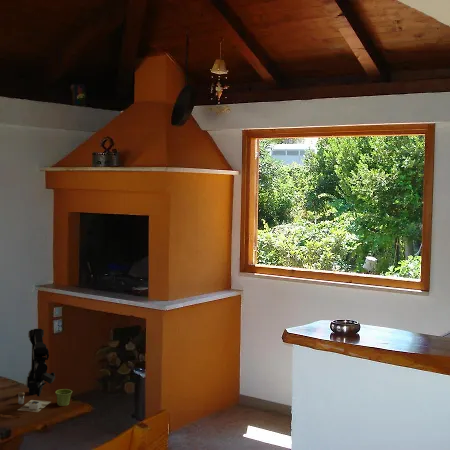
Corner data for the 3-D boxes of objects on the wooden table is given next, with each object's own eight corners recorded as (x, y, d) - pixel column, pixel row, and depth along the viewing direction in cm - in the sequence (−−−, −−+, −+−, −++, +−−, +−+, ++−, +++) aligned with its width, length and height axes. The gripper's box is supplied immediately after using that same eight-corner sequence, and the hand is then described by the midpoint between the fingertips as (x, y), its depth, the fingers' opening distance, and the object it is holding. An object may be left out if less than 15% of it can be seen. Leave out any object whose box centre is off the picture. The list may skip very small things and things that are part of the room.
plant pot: (75, 405, 354) (75, 390, 354) (64, 410, 346) (65, 395, 345) (62, 402, 358) (62, 388, 358) (51, 407, 350) (51, 392, 349)
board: (31, 402, 356) (31, 399, 356) (51, 404, 355) (51, 401, 355) (17, 412, 338) (17, 409, 338) (38, 414, 337) (38, 411, 337)
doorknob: (19, 404, 352) (19, 391, 351) (25, 405, 351) (25, 391, 351) (16, 406, 348) (17, 393, 348) (22, 407, 348) (23, 393, 347)
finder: (32, 405, 345) (33, 400, 345) (41, 406, 345) (41, 401, 344) (28, 408, 340) (29, 403, 340) (37, 409, 340) (37, 403, 339)
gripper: (46, 374, 335) (45, 402, 336) (59, 365, 354) (58, 392, 354) (27, 372, 336) (26, 400, 337) (41, 364, 355) (40, 390, 356)
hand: (38, 396), depth 346 cm, fingers closed
